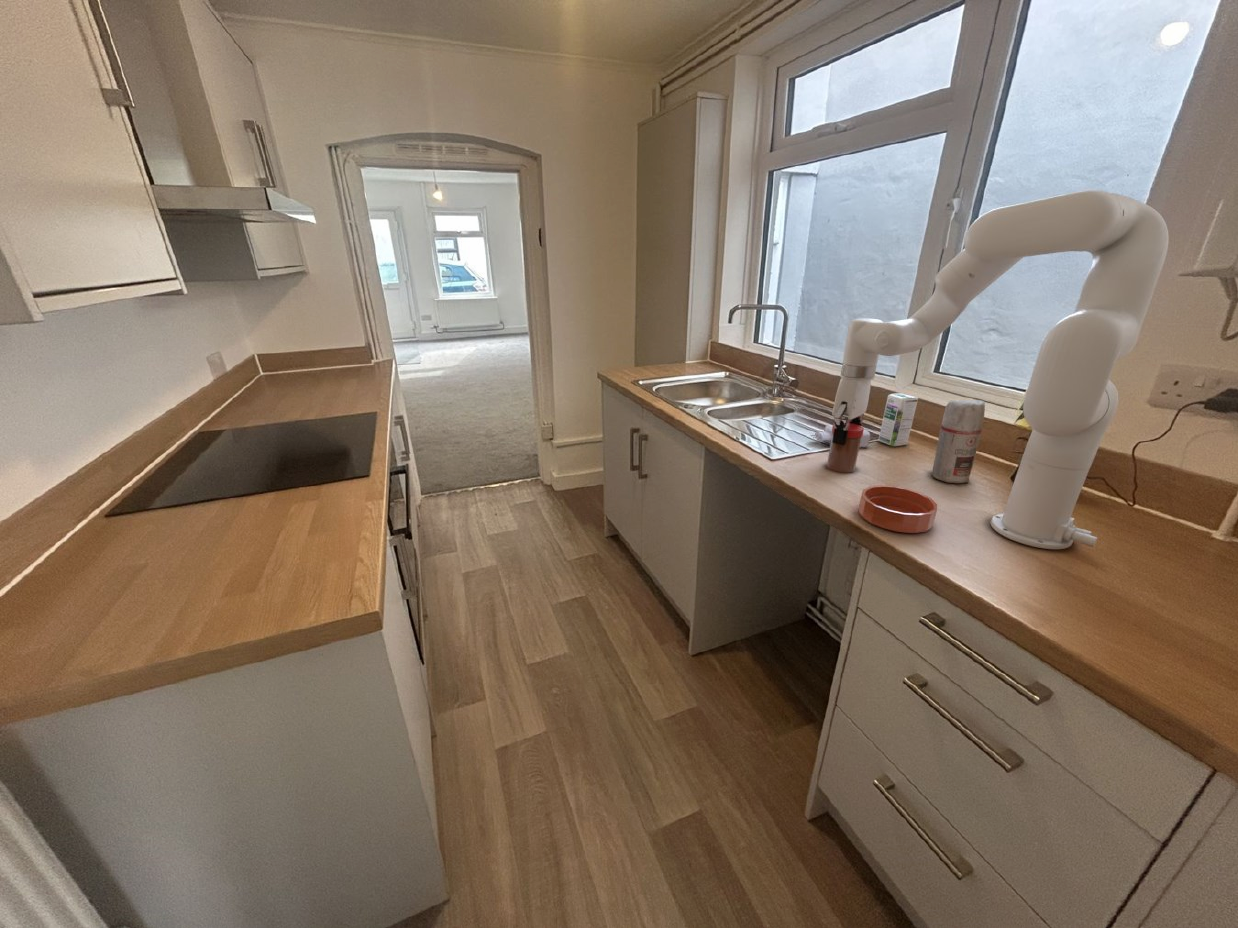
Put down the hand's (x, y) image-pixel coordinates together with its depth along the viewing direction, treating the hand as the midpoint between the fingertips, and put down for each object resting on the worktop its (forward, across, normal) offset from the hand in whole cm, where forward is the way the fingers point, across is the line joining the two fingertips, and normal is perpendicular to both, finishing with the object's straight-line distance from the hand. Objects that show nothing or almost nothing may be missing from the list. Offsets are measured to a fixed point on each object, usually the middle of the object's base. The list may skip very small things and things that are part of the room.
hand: (845, 439), depth 124 cm
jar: (+8, 0, 0) cm, 8 cm away
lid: (-3, 0, 0) cm, 3 cm away
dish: (+8, +19, +20) cm, 29 cm away
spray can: (+8, -13, +22) cm, 26 cm away
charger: (+8, -17, -9) cm, 21 cm away
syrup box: (+8, -30, +2) cm, 31 cm away
